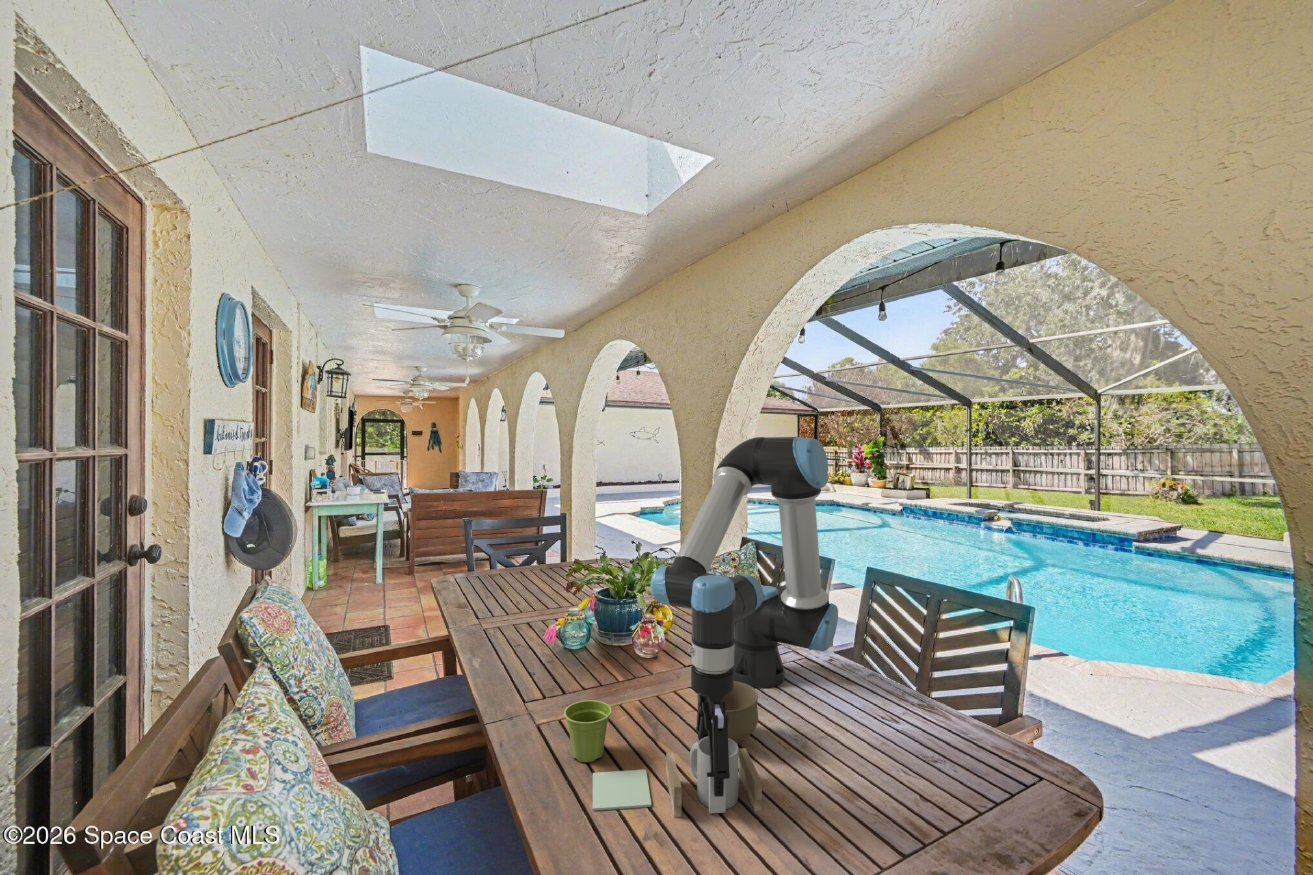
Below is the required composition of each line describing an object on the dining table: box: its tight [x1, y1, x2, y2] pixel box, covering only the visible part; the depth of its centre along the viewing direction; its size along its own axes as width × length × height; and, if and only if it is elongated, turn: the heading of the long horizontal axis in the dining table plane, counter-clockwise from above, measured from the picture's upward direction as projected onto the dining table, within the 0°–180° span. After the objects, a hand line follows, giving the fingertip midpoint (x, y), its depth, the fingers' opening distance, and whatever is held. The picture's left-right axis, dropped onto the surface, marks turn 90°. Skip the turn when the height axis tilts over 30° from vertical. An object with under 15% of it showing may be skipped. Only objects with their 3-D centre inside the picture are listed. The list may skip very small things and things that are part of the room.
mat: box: [592, 769, 652, 812], centre depth 99 cm, size 10×10×1 cm
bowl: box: [696, 681, 759, 745], centre depth 115 cm, size 13×13×10 cm
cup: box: [689, 737, 739, 810], centre depth 98 cm, size 7×10×9 cm
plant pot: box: [563, 699, 613, 763], centre depth 110 cm, size 9×9×9 cm
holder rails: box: [665, 747, 763, 818], centre depth 98 cm, size 15×10×5 cm, turn 97°
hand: (711, 794), depth 98 cm, fingers open, 8 cm apart
